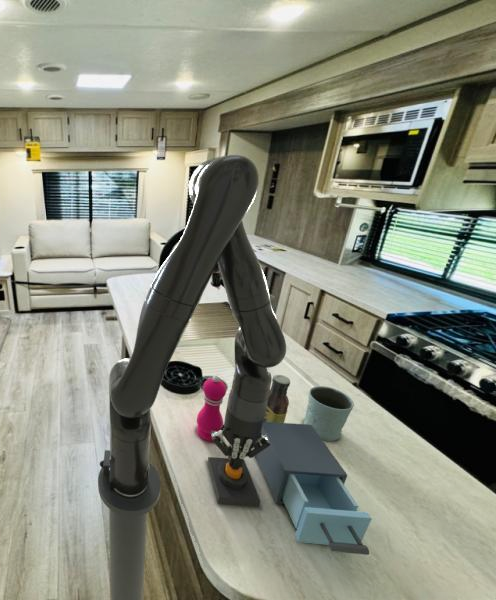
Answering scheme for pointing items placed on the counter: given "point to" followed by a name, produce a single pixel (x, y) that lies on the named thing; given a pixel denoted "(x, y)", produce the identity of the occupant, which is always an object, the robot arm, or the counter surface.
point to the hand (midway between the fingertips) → (233, 466)
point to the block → (232, 484)
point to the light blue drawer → (325, 513)
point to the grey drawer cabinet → (294, 455)
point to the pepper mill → (211, 408)
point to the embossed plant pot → (328, 411)
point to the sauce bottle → (277, 400)
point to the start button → (233, 472)
